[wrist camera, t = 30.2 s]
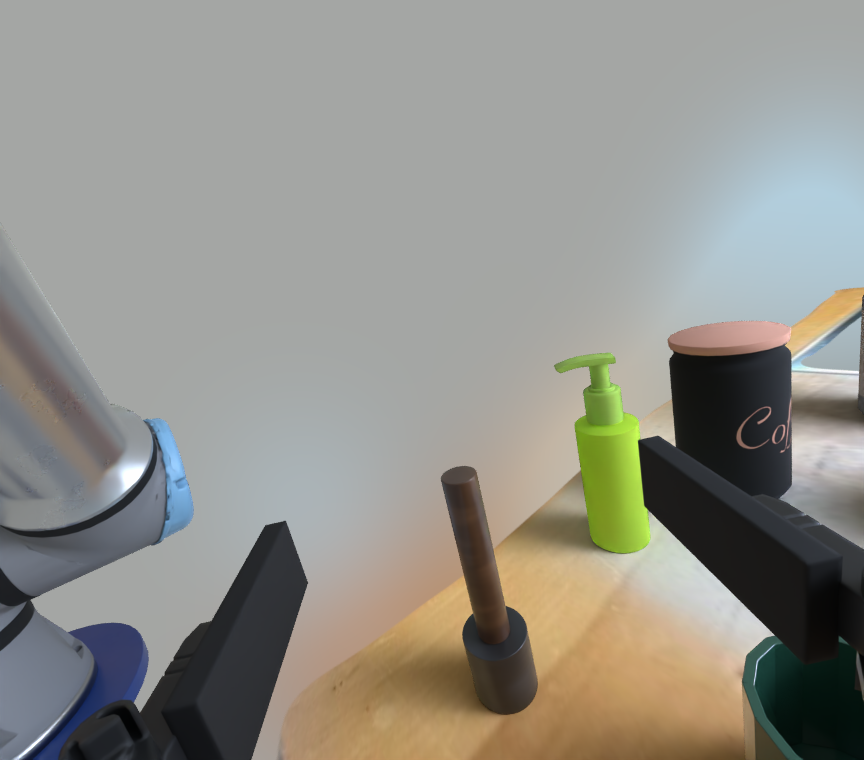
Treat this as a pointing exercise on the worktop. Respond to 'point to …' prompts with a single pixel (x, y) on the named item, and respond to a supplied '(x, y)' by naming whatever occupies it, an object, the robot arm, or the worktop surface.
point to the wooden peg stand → (488, 605)
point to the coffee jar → (735, 402)
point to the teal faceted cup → (801, 705)
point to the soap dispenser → (609, 461)
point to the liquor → (861, 365)
